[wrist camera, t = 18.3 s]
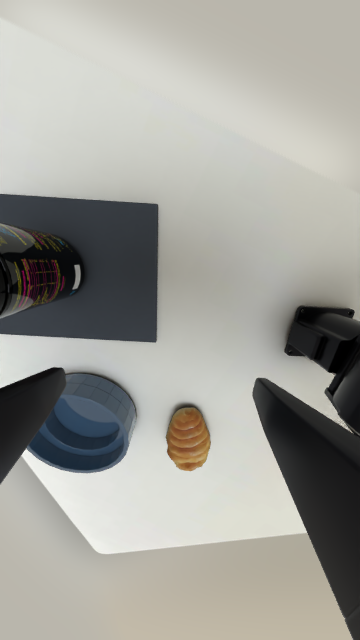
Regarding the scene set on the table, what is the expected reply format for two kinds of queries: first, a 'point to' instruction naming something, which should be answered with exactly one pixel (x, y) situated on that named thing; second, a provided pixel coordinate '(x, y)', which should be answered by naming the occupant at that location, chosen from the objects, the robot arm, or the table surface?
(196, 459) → the pastry
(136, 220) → the placemat
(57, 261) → the supplement container
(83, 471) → the bowl
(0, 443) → the robot arm
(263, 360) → the table surface
